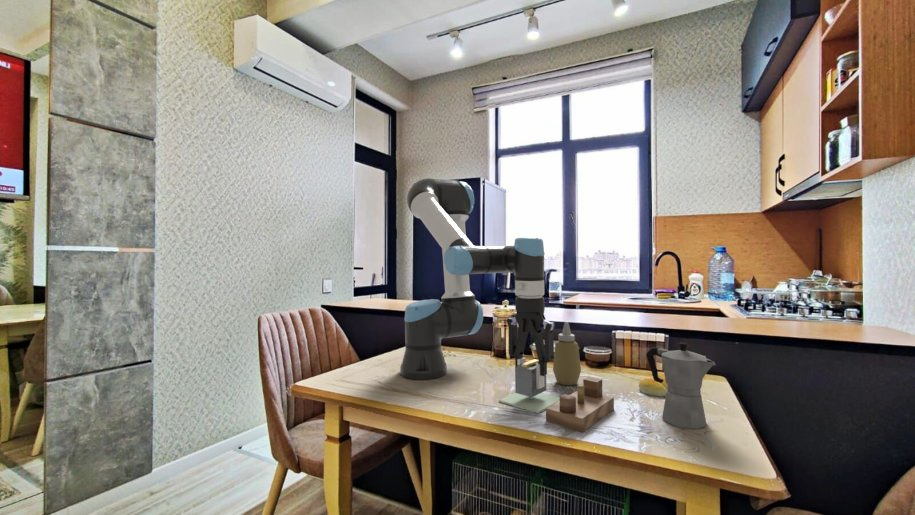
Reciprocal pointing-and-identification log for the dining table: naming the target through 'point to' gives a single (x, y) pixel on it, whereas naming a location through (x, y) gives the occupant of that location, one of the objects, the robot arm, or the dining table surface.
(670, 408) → the coffeepot
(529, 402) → the mat
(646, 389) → the bread roll
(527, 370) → the lever cap
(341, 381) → the dining table surface
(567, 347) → the squeeze bottle
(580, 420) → the wooden peg board
